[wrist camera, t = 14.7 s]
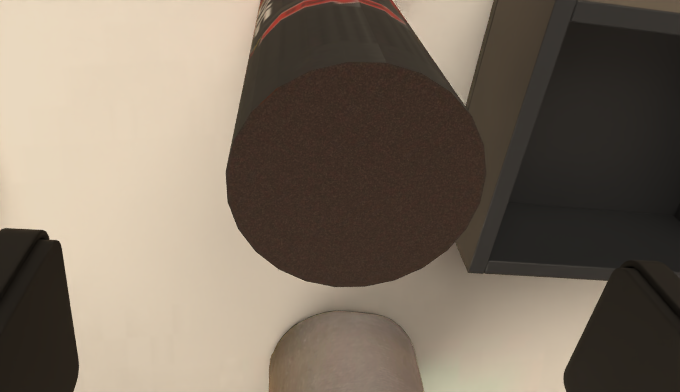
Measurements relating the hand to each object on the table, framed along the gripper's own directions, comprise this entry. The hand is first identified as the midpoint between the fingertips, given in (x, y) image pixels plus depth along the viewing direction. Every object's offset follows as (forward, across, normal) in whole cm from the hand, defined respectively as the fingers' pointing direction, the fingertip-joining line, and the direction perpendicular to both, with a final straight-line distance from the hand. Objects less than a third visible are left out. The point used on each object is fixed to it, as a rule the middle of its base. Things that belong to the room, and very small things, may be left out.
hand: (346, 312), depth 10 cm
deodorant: (+19, -1, 0) cm, 19 cm away
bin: (+18, -16, +3) cm, 25 cm away
